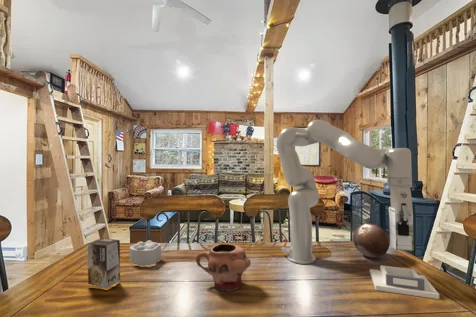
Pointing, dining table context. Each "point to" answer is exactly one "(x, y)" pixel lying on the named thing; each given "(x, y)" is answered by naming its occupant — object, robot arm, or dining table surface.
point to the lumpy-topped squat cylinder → (145, 253)
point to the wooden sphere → (371, 240)
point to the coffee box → (104, 262)
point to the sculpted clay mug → (225, 265)
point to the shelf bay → (402, 282)
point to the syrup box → (394, 238)
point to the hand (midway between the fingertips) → (400, 232)
